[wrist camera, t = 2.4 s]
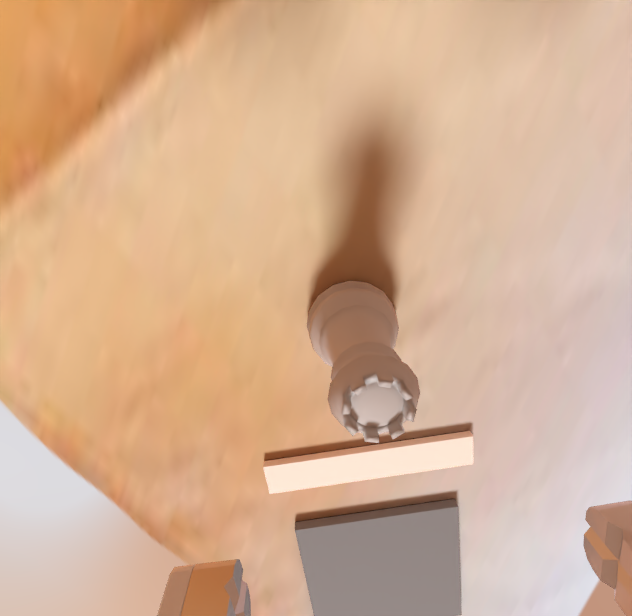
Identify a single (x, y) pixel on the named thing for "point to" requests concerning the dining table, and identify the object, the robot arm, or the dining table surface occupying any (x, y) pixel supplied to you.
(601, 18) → the dining table surface
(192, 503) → the dining table surface
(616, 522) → the robot arm
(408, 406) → the rook chess piece
